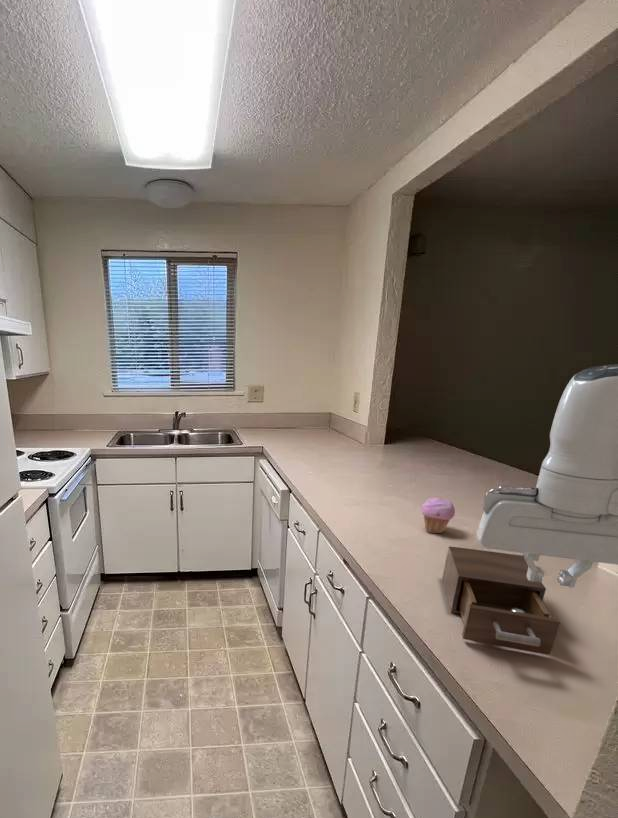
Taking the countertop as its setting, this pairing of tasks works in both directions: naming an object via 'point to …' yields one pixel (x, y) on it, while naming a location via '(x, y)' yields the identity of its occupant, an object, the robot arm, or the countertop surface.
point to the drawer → (506, 617)
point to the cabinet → (485, 572)
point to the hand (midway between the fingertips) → (549, 582)
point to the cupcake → (437, 514)
